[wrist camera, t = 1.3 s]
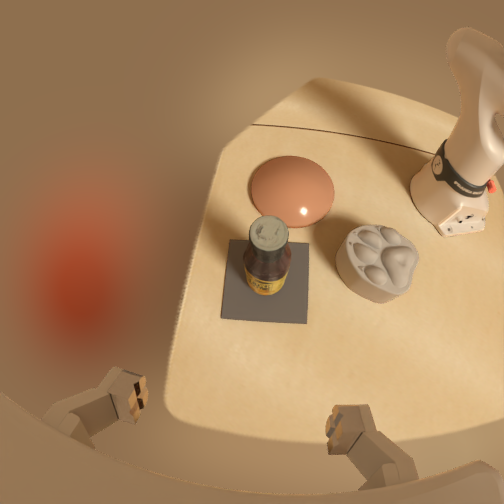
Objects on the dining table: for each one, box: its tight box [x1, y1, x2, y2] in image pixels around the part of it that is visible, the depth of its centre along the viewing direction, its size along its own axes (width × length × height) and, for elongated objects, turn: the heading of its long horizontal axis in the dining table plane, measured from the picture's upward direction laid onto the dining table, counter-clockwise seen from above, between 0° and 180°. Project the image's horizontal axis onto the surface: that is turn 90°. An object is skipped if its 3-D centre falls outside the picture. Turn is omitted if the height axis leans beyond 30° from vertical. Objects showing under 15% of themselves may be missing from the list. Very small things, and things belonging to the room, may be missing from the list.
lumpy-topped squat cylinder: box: [335, 225, 419, 304], centre depth 42 cm, size 10×13×9 cm
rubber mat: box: [221, 240, 309, 324], centre depth 47 cm, size 14×14×1 cm
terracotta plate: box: [251, 156, 334, 228], centre depth 52 cm, size 16×16×1 cm
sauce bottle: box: [243, 215, 292, 296], centre depth 37 cm, size 6×6×20 cm
